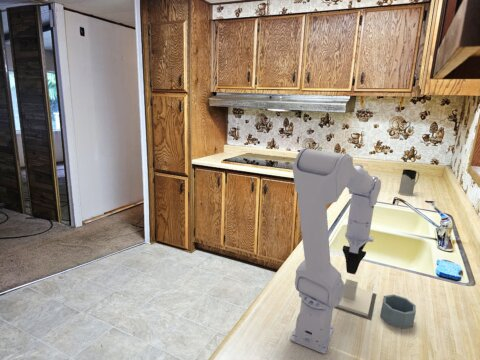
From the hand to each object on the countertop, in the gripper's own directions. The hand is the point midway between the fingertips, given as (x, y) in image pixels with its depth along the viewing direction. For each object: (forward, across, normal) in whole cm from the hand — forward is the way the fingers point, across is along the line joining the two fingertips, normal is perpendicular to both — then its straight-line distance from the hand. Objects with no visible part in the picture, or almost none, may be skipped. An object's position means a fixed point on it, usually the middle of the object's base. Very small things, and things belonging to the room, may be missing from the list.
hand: (352, 266), depth 86 cm
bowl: (+10, -3, -12) cm, 16 cm away
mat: (+10, 0, 0) cm, 10 cm away
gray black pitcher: (+9, +135, -20) cm, 137 cm away
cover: (+10, 0, 0) cm, 10 cm away
